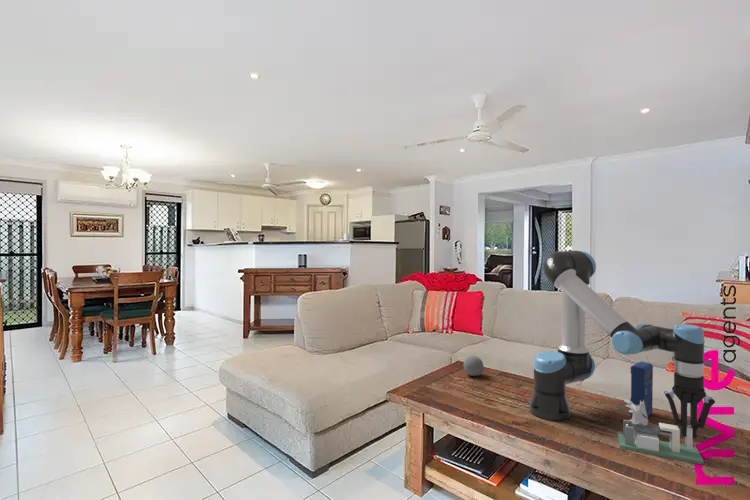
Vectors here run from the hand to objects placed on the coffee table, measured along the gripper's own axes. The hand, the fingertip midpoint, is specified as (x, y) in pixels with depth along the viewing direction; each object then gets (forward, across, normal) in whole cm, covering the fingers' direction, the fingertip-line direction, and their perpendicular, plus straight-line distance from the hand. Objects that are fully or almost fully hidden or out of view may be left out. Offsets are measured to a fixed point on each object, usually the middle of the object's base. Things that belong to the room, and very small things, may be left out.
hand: (688, 446), depth 127 cm
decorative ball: (+2, +79, -44) cm, 91 cm away
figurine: (+3, +13, -12) cm, 18 cm away
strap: (-3, +11, 0) cm, 11 cm away
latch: (+2, +5, 0) cm, 5 cm away
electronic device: (+3, +9, -28) cm, 29 cm away
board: (+3, +8, 0) cm, 9 cm away
